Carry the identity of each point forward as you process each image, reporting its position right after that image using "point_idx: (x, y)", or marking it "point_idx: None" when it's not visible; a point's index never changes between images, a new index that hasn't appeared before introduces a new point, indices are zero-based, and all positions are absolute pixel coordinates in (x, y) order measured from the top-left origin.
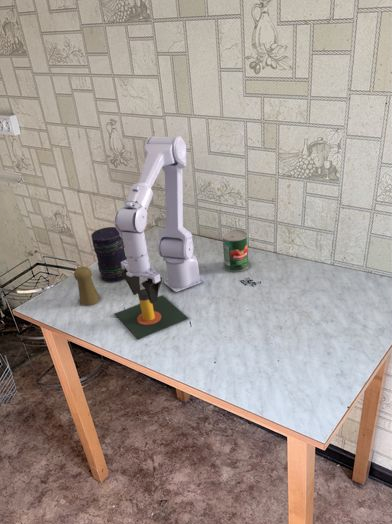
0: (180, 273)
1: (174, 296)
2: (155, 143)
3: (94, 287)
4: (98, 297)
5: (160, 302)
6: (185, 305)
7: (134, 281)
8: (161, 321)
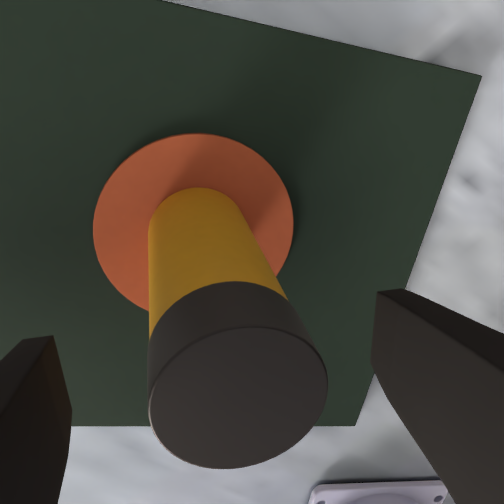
0: None
1: (291, 463)
2: None
3: None
4: None
5: None
6: (153, 468)
7: (486, 456)
8: (78, 274)
